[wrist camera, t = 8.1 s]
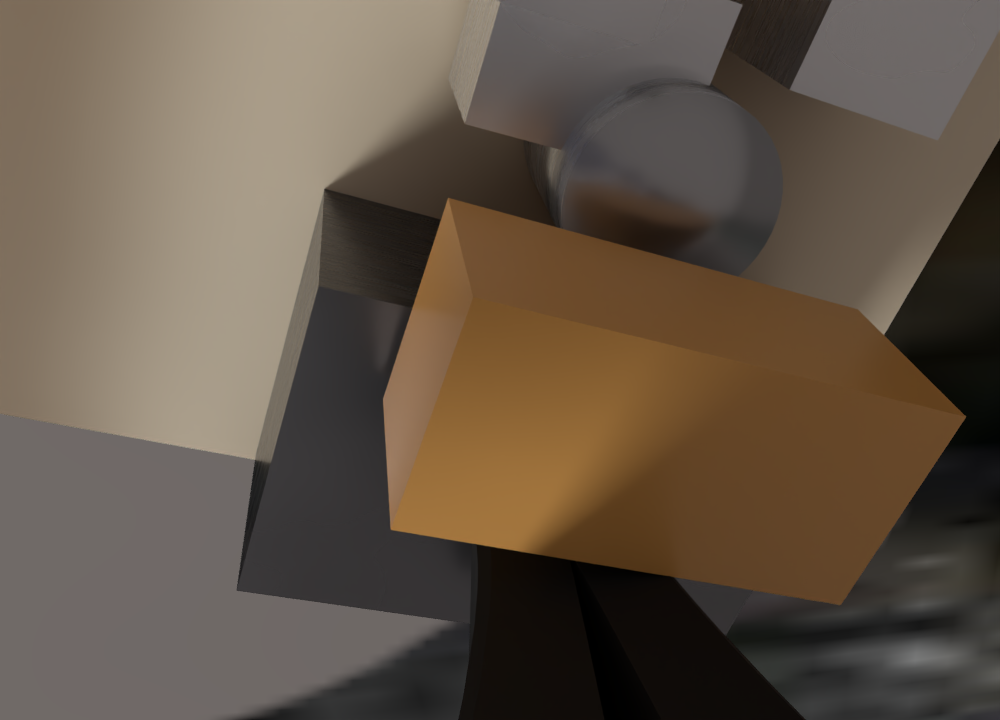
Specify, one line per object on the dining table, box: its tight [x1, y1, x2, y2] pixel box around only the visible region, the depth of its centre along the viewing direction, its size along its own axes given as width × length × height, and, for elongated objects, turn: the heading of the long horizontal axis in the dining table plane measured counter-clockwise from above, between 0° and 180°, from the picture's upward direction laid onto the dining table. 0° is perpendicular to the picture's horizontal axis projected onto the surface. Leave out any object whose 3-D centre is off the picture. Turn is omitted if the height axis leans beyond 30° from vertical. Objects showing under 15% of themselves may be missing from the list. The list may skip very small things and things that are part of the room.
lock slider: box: [383, 198, 966, 605], centre depth 8 cm, size 4×2×2 cm, turn 71°
